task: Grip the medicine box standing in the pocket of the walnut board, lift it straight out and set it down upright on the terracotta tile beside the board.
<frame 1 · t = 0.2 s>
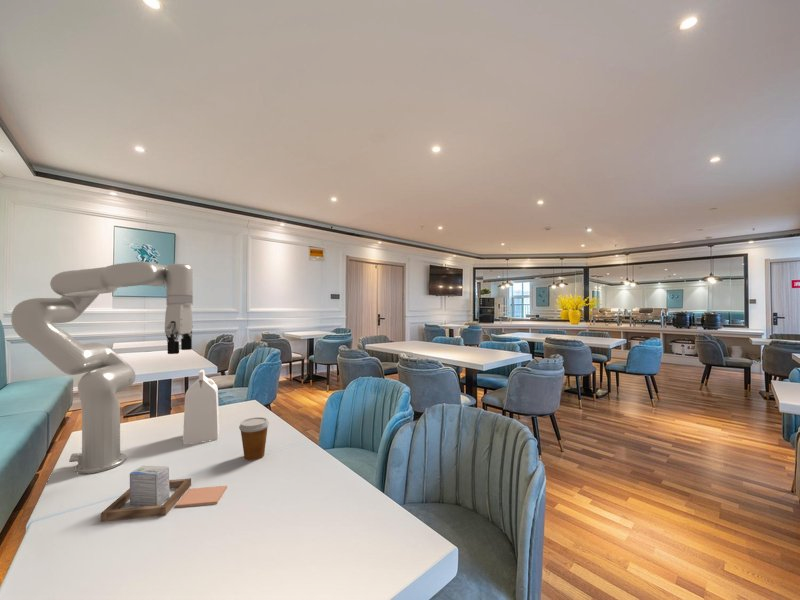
hand: (180, 351, 117), 36 cm above the table, tool pointing down, fingers open, 9 cm apart
medicine box: (150, 502, 92), resting in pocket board
terracotta tile: (202, 497, 94), on the table
milk: (202, 437, 137), on the table
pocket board: (150, 501, 92), on the table
disposable coffee cup: (254, 457, 119), on the table
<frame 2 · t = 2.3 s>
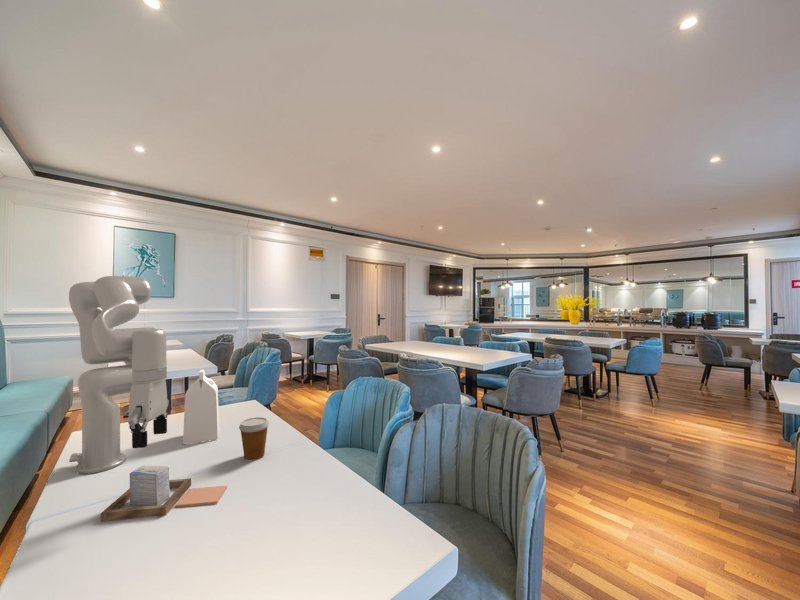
hand: (150, 440, 92), 16 cm above the table, tool pointing down, fingers open, 9 cm apart
nothing on the table moved.
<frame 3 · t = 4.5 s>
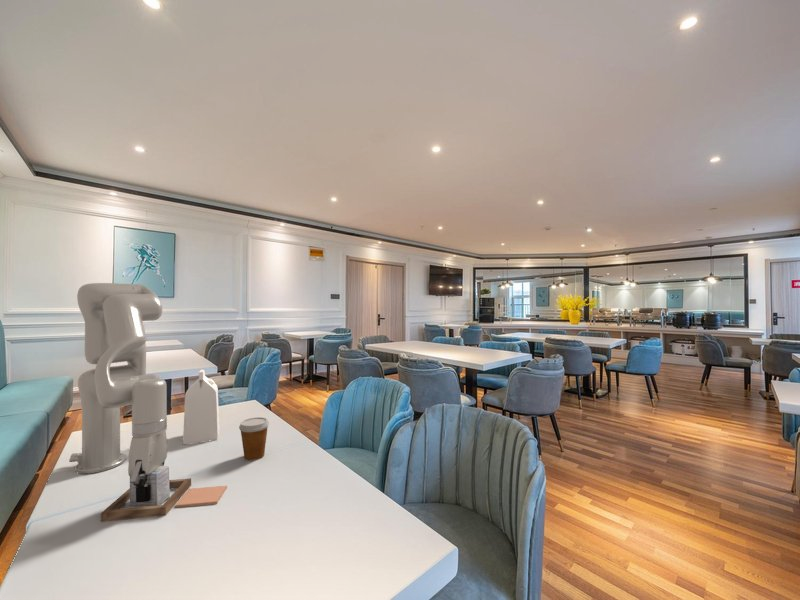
hand: (150, 494, 92), 2 cm above the table, tool pointing down, fingers closed on medicine box, 5 cm apart
medicine box: (150, 502, 92), resting in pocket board, touching gripper
everything else where it was.
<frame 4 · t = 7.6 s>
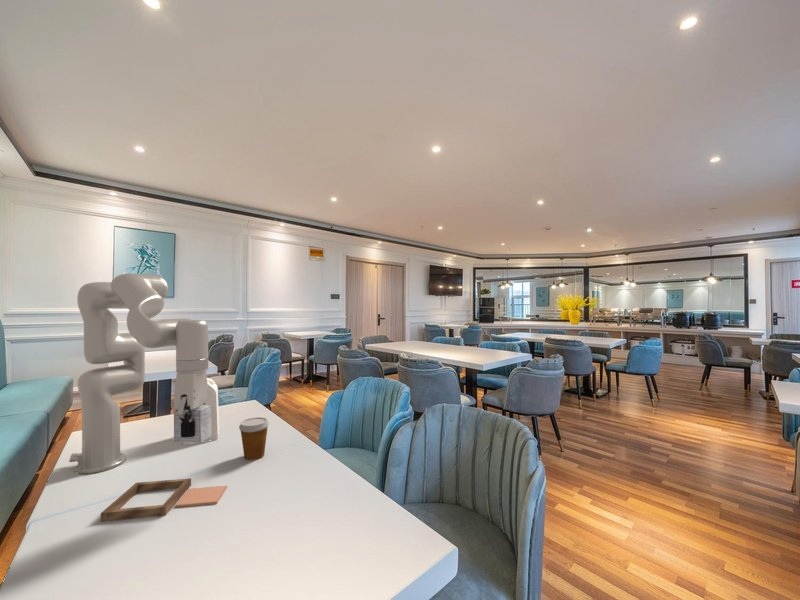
hand: (193, 431, 94), 18 cm above the table, tool pointing down, fingers closed on medicine box, 5 cm apart
medicine box: (193, 440, 94), point 16 cm above the table, touching gripper
everything else where it was.
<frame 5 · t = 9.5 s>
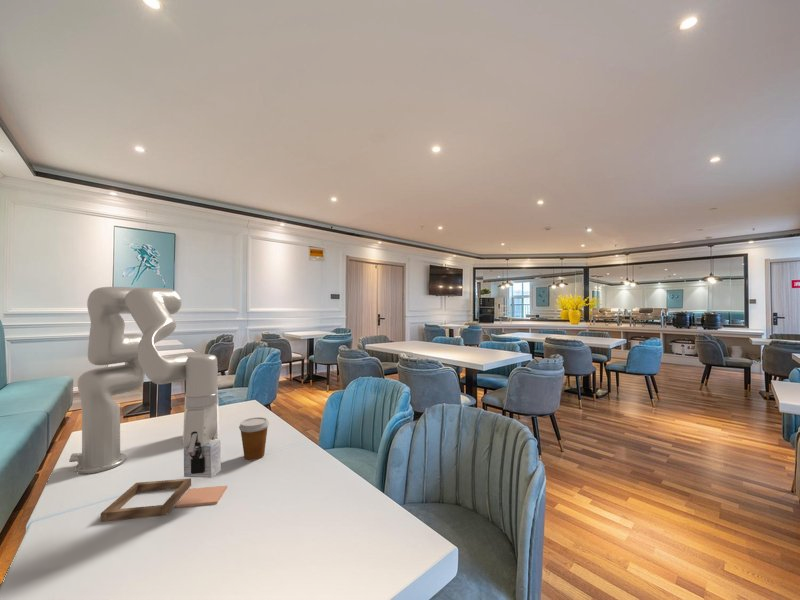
hand: (202, 466, 94), 8 cm above the table, tool pointing down, fingers closed on medicine box, 5 cm apart
medicine box: (202, 475, 94), point 6 cm above the table, touching gripper
everything else where it was.
when the fingers open (4 cm above the table, at t = 11.1 s): medicine box drops 1 cm, resting on terracotta tile.
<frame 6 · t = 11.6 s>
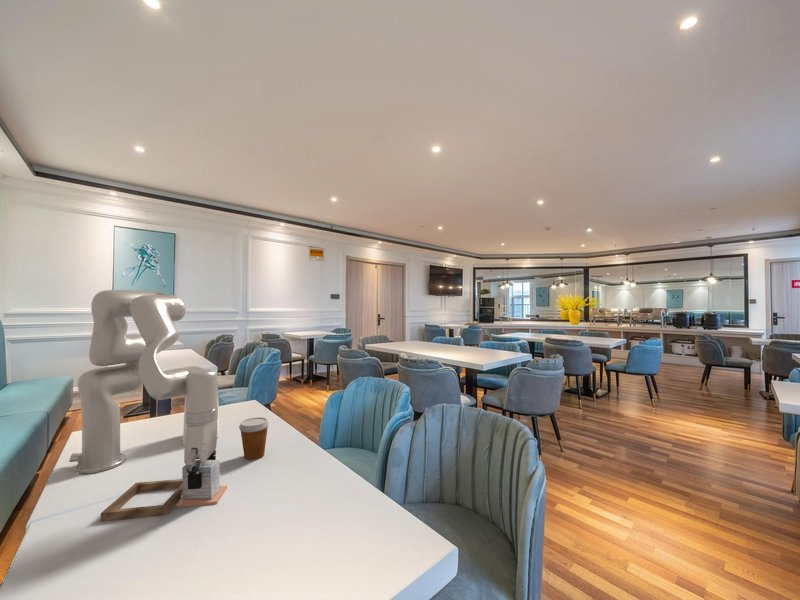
hand: (202, 479, 94), 5 cm above the table, tool pointing down, fingers open, 9 cm apart
medicine box: (201, 495, 94), resting on terracotta tile
everything else where it was.
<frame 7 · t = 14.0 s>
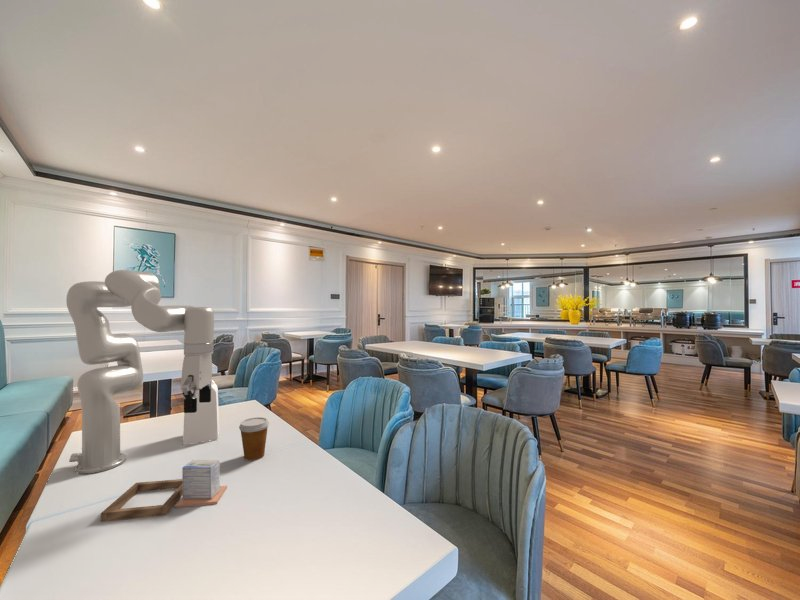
hand: (198, 407, 102), 22 cm above the table, tool pointing down, fingers open, 9 cm apart
nothing on the table moved.
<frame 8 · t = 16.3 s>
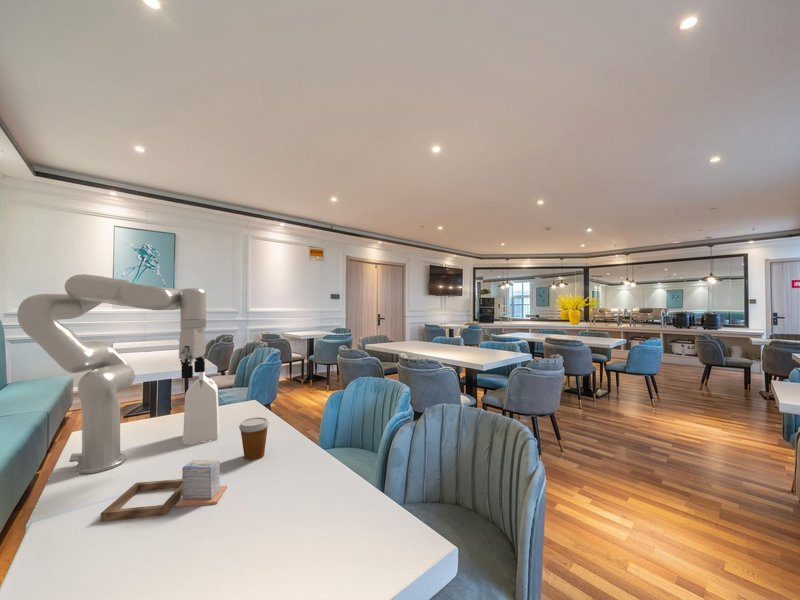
hand: (193, 374, 118), 28 cm above the table, tool pointing down, fingers open, 9 cm apart
nothing on the table moved.
at the end: medicine box inside the target area (0.2 cm from its centre), resting on terracotta tile; medicine box tilted 0°; the gripper is holding nothing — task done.
